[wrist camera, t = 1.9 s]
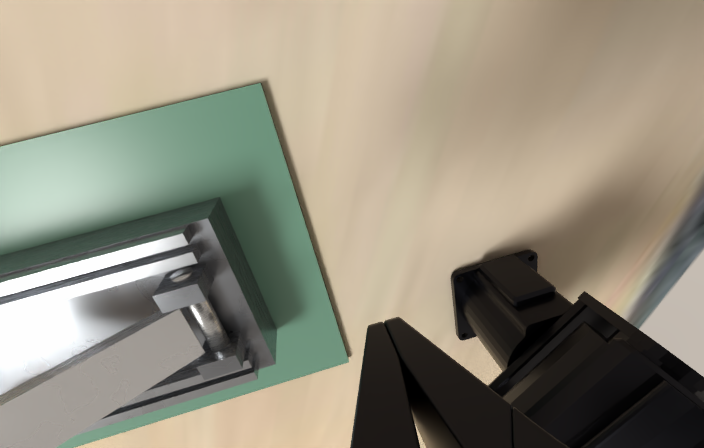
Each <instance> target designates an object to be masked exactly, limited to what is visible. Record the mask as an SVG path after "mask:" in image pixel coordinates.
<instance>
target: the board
mask: <svg viewBox="0 0 704 448" xmlns="http://www.w3.org/2000/svg"><path fill="white" fill-rule="evenodd" d="M218 197H220V198H221V201H222V203H223V205H224V208H225V210H226V212H227V215H228V217H229V219H230V222H231V224H232V226H233V229H234V231H235V233H236V235H237V238H238V240H239V242H240V245H241V247H242V249H243V252H244V254H245V256H246V259H247V261H248V263H249V266H250V268H251V270H252V273H253V275H254V277H255V279H256V282H257V284H258V286H259V289H260V291H261V293H262V296H263V298H264V300H265V303H266V305H267V307H268V310H269V312H270V314H271V316H272V319H273V321H274V323H275V326H276V328H277V345H276V364H275V365H272V366H268V367H265V368H262V369H259V372H258V379H257V380H254V381H251V382H247V383H244V384H241V385H238V386H234V387H231V388H228V389H225V390H221V391H218V392H215V393H212V394H208V395H205V396H202V397H199V398H195V399H192V400H189V401H186V402H183V403H179V404H176V405H173V406H170V407H166V408H163V409H160V410H157V411H153V412H150V413H147V414H144V415H140V416H137V417H134V418H131V419H127V420H124V421H121V422H118V423H114V424H111V425H108V426H105V427H102V428H98V429H95V430H92V431H89V432H85V433H82V434H79V435H76V436H73V437H72V438H70V439H69V440H67V441H66V442H64V443H62V444H61V445H59V446H58V447H56V448H74V447H77V446H81V445H84V444H87V443H90V442H93V441H97V440H100V439H103V438H106V437H110V436H113V435H116V434H119V433H122V432H126V431H129V430H132V429H135V428H138V427H142V426H145V425H148V424H151V423H155V422H158V421H161V420H164V419H167V418H171V417H174V416H177V415H180V414H183V413H187V412H190V411H193V410H196V409H200V408H203V407H206V406H209V405H212V404H216V403H219V402H222V401H225V400H228V399H232V398H235V397H238V396H241V395H245V394H248V393H251V392H254V391H257V390H261V389H264V388H267V387H270V386H273V385H277V384H280V383H283V382H286V381H290V380H293V379H296V378H299V377H302V376H306V375H309V374H312V373H315V372H319V371H322V370H325V369H328V368H331V367H335V366H338V365H341V364H344V363H347V362H349V360H348V356H347V353H346V350H345V346H344V343H343V340H342V337H341V334H340V331H339V327H338V324H337V321H336V318H335V315H334V312H333V308H332V305H331V302H330V299H329V296H328V293H327V290H326V286H325V283H324V280H323V277H322V274H321V271H320V267H319V264H318V261H317V258H316V255H315V252H314V249H313V245H312V242H311V239H310V236H309V233H308V230H307V226H306V223H305V220H304V217H303V214H302V211H301V207H300V204H299V201H298V198H297V195H296V192H295V189H294V185H293V182H292V179H291V176H290V173H289V170H288V166H287V163H286V160H285V157H284V154H283V151H282V147H281V144H280V141H279V138H278V135H277V132H276V129H275V125H274V122H273V119H272V116H271V113H270V110H269V106H268V103H267V100H266V97H265V94H264V91H263V88H262V84H261V83H258V84H254V85H250V86H246V87H241V88H237V89H233V90H229V91H225V92H221V93H217V94H213V95H209V96H205V97H201V98H197V99H192V100H188V101H184V102H180V103H176V104H172V105H168V106H164V107H160V108H156V109H152V110H148V111H143V112H139V113H135V114H131V115H127V116H123V117H119V118H115V119H111V120H107V121H103V122H99V123H94V124H90V125H86V126H82V127H78V128H74V129H70V130H66V131H62V132H58V133H54V134H50V135H45V136H41V137H37V138H33V139H29V140H25V141H21V142H17V143H13V144H9V145H5V146H1V147H0V256H1V255H4V254H8V253H12V252H16V251H19V250H23V249H27V248H31V247H34V246H38V245H42V244H46V243H49V242H53V241H57V240H61V239H64V238H68V237H72V236H76V235H79V234H83V233H87V232H91V231H94V230H98V229H102V228H105V227H109V226H113V225H117V224H120V223H124V222H128V221H132V220H135V219H139V218H143V217H147V216H150V215H154V214H158V213H162V212H165V211H169V210H173V209H177V208H180V207H184V206H188V205H192V204H195V203H199V202H203V201H207V200H210V199H214V198H218Z"/></svg>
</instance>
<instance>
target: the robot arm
mask: <svg viewBox="0 0 704 448" xmlns="http://www.w3.org/2000/svg"><path fill="white" fill-rule="evenodd" d="M529 256H530V257H529ZM528 257H529V258H528ZM537 258H538V256H537V253H535V252H534V251H533V250H525V251H522V252H519V253H515V254H512V255H509V256H505V257H502V258H498V259H495V260H492V261H488V262H485V263H482V264H478V265H475V266H472V267H468V268H465V269H462V270H458V271H456V272H454V273H453V274H452V275H451V286H452V296H453V306H454V316H455V326H456V334H457V336H458V338H459V339H460V340H466V339H470V338H473V337H476V336H477V337H478V338H479V339H480V341H481V342H482V344H483V345H484V346H485V348H486V349H487V350H488V352H489V353H490V354H491V356H492V357H493V359H494V360H495V361H496V363H497V364H498V365H499V367H500V368H501V370H502V371H503V372H502V373H501V374H500V375H499V376H498V377H497V378H496V379H495V380H494V381H493V382H491V383H490V384H489V385H486V384H484V383H483V382H482V381H480V380H479V379H478V378H477V377H475V376H474V375H473V374H472V373H470V372H469V371H468V370H466V369H465V368H464V367H463V366H461V365H460V364H459V363H457V362H456V361H455V360H454V359H452V358H451V357H450V356H448V355H447V354H446V353H445V352H443V351H442V350H441V349H440V348H438V347H437V346H436V345H434V344H433V343H432V342H431V341H429V340H428V339H427V338H425V337H424V336H423V335H422V334H420V333H419V332H418V331H416V330H415V329H414V328H413V327H411V326H410V325H409V324H408V323H406V322H405V321H404V320H402V319H401V318H399V317H396V318H392V319H389V320H386V321H385V322H384V323H383V322H378V323H375V324H371V325H369V326H368V328H367V335H366V342H365V349H364V356H363V363H362V370H361V377H360V384H359V391H358V398H357V405H356V412H355V419H354V426H353V433H352V440H351V447H350V448H420V445H419V440H418V436H417V432H416V427H415V424H416V426H417V428H418V430H419V432H420V435H421V437H422V439H423V441H424V443H425V445H426V448H704V377H703V376H701V375H700V374H699V373H697V372H696V371H695V370H693V369H692V368H691V367H689V366H688V365H686V364H685V363H684V362H683V361H681V360H680V359H679V358H677V357H676V356H675V355H673V354H672V353H670V352H669V351H668V350H666V349H665V348H664V347H662V346H661V345H660V344H658V343H657V342H655V341H654V340H652V339H651V338H650V337H648V336H647V335H646V334H644V333H643V332H641V331H640V330H639V329H637V328H636V327H634V326H633V325H632V324H630V323H629V322H627V321H626V320H624V319H623V318H622V317H620V316H619V315H617V314H616V313H614V312H613V311H612V310H610V309H609V308H607V307H606V306H605V305H603V304H602V303H600V302H599V301H597V300H596V299H595V298H593V297H592V296H590V295H589V294H588V293H586V292H585V291H584V292H583V293H582V294H581V295H580V296H579V297H578V299H579V300H578V301H576V302H575V303H574V304H572V303H571V302H569V301H568V300H567V299H566V298H564V297H563V296H562V295H561V294H559V293H558V292H557V291H556V288H555V286H553V285H552V284H551V283H550V282H548V281H547V280H546V279H544V278H543V277H542V276H541V275H539V274H538V273H537ZM458 277H460V278H459V279H457V278H458ZM463 333H464V334H463ZM414 421H415V423H414Z"/></svg>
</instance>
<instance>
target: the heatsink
mask: <svg viewBox="0 0 704 448" xmlns="http://www.w3.org/2000/svg"><path fill="white" fill-rule="evenodd" d="M176 309H181V311H182V313H183V315H184V316H185V318H186V320H187V321H188V323H189V325H190V326H191V328H192V330H193V332H194V333H195V335H196V337H197V338H198V340H199V342H200V343H201V345H202V347H203V349H204V351H205V354H203V355H201V356H200V357H198V358H197V359H195V360H194V361H192V362H190V363H189V364H187V365H186V366H184V367H182V368H181V369H179V370H178V371H176V372H175V373H173V374H171V375H170V376H168V377H167V378H165V379H164V380H162V381H160V382H159V383H157V384H156V385H154V386H152V387H151V388H149V389H148V390H146V391H145V392H143V393H141V394H140V395H138V396H137V397H135V398H133V399H132V400H130V401H129V402H127V403H126V404H124V405H122V406H121V407H119V408H118V409H116V410H115V411H113V412H111V413H110V414H108V415H107V416H105V417H103V418H102V419H100V420H99V421H97V422H96V423H94V424H92V425H91V426H89V427H88V428H86V429H84V430H83V431H81V432H80V433H78V434H77V435H79V434H82V433H85V432H89V431H92V430H95V429H98V428H102V427H105V426H108V425H111V424H114V423H118V422H121V421H124V420H127V419H131V418H134V417H137V416H140V415H144V414H147V413H150V412H153V411H157V410H160V409H163V408H166V407H170V406H173V405H176V404H179V403H183V402H186V401H189V400H192V399H195V398H199V397H202V396H205V395H208V394H212V393H215V392H218V391H221V390H225V389H228V388H231V387H234V386H238V385H241V384H244V383H247V382H251V381H254V380H257V379H258V372H259V369H262V368H265V367H268V366H272V365H275V364H276V345H277V328H276V326H275V323H274V321H273V319H272V316H271V314H270V312H269V310H268V307H267V305H266V303H265V300H264V298H263V296H262V293H261V291H260V289H259V286H258V284H257V282H256V279H255V277H254V275H253V273H252V270H251V268H250V266H249V263H248V261H247V259H246V256H245V254H244V252H243V249H242V247H241V245H240V242H239V240H238V238H237V235H236V233H235V231H234V229H233V226H232V224H231V222H230V219H229V217H228V215H227V212H226V210H225V208H224V205H223V203H222V201H221V198H220V197H218V198H214V199H210V200H207V201H203V202H199V203H195V204H192V205H188V206H184V207H180V208H177V209H173V210H169V211H165V212H162V213H158V214H154V215H150V216H147V217H143V218H139V219H135V220H132V221H128V222H124V223H120V224H117V225H113V226H109V227H105V228H102V229H98V230H94V231H91V232H87V233H83V234H79V235H76V236H72V237H68V238H64V239H61V240H57V241H53V242H49V243H46V244H42V245H38V246H34V247H31V248H27V249H23V250H19V251H16V252H12V253H8V254H4V255H1V256H0V395H1V394H3V393H5V392H7V391H9V390H11V389H13V388H15V387H16V386H18V385H20V384H22V383H24V382H26V381H28V380H30V379H32V378H33V377H35V376H37V375H39V374H41V373H43V372H45V371H47V370H48V369H50V368H52V367H54V366H56V365H58V364H60V363H62V362H64V361H65V360H67V359H69V358H71V357H73V356H75V355H77V354H79V353H80V352H82V351H84V350H86V349H88V348H90V347H92V346H94V345H95V344H97V343H99V342H101V341H103V340H105V339H107V338H109V337H111V336H112V335H114V334H116V333H118V332H120V331H122V330H124V329H126V328H127V327H129V326H131V325H133V324H135V323H137V322H139V321H141V320H143V319H144V318H146V317H148V316H150V315H152V314H154V313H156V312H158V311H159V310H161V312H162V313H166V312H169V311H173V310H176ZM75 436H76V435H75Z"/></svg>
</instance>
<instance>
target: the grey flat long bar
mask: <svg viewBox="0 0 704 448" xmlns="http://www.w3.org/2000/svg"><path fill="white" fill-rule="evenodd" d="M203 354H205V351H204V349H203V347H202V345H201V343H200V342H199V340H198V338H197V337H196V335H195V333H194V332H193V330H192V328H191V326H190V325H189V323H188V321H187V320H186V318H185V316H184V315H183V313H182V311H181V309H176V310H173V311H169V312H166V313H162V312H161V310H159V311H158V312H156V313H154V314H152V315H150V316H148V317H146V318H144V319H143V320H141V321H139V322H137V323H135V324H133V325H131V326H129V327H127V328H126V329H124V330H122V331H120V332H118V333H116V334H114V335H112V336H111V337H109V338H107V339H105V340H103V341H101V342H99V343H97V344H95V345H94V346H92V347H90V348H88V349H86V350H84V351H82V352H80V353H79V354H77V355H75V356H73V357H71V358H69V359H67V360H65V361H64V362H62V363H60V364H58V365H56V366H54V367H52V368H50V369H48V370H47V371H45V372H43V373H41V374H39V375H37V376H35V377H33V378H32V379H30V380H28V381H26V382H24V383H22V384H20V385H18V386H16V387H15V388H13V389H11V390H9V391H7V392H5V393H3V394H1V395H0V448H56V447H58V446H59V445H61V444H62V443H64V442H66V441H67V440H69V439H70V438H72V437H73V436H75V435H77V434H78V433H80V432H81V431H83V430H84V429H86V428H88V427H89V426H91V425H92V424H94V423H96V422H97V421H99V420H100V419H102V418H103V417H105V416H107V415H108V414H110V413H111V412H113V411H115V410H116V409H118V408H119V407H121V406H122V405H124V404H126V403H127V402H129V401H130V400H132V399H133V398H135V397H137V396H138V395H140V394H141V393H143V392H145V391H146V390H148V389H149V388H151V387H152V386H154V385H156V384H157V383H159V382H160V381H162V380H164V379H165V378H167V377H168V376H170V375H171V374H173V373H175V372H176V371H178V370H179V369H181V368H182V367H184V366H186V365H187V364H189V363H190V362H192V361H194V360H195V359H197V358H198V357H200V356H201V355H203Z"/></svg>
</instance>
